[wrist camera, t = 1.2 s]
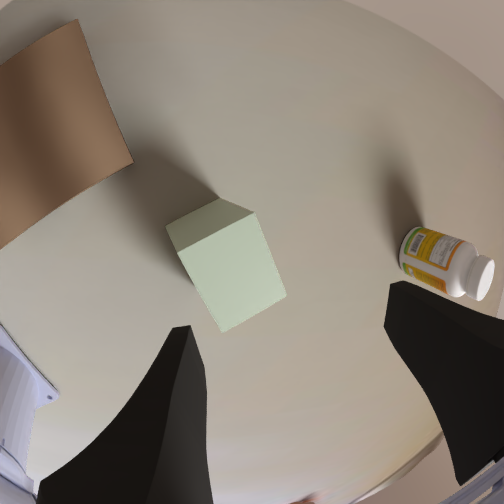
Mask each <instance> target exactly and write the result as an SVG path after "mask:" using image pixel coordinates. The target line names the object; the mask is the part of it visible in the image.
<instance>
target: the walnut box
mask: <svg viewBox="0 0 504 504" xmlns="http://www.w3.org/2000/svg"><path fill="white" fill-rule="evenodd" d="M133 163H134V160H133V158H132V156H131V154H130V152H129V149H128V147H127V145H126V143H125V140H124V138H123V136H122V133H121V131H120V129H119V126H118V124H117V122H116V119H115V117H114V115H113V112H112V110H111V107H110V105H109V102H108V100H107V97H106V95H105V92H104V90H103V87H102V85H101V82H100V79H99V77H98V74H97V72H96V69H95V66H94V63H93V61H92V58H91V55H90V52H89V49H88V47H87V44H86V41H85V38H84V35H83V32H82V30H81V27H80V24H79V21H78V19H76V20H74V21H72V22H70V23H68V24H66V25H64V26H62V27H60V28H58V29H56V30H55V31H53V32H51V33H49V34H48V35H46V36H44V37H42V38H41V39H39V40H37V41H36V42H34V43H33V44H31V45H29V46H28V47H26V48H25V49H23V50H22V51H20V52H19V53H17V54H16V55H15V56H13V57H12V58H10V59H9V60H8V61H6V62H5V63H3V64H2V65H1V66H0V249H2V248H3V247H4V246H6V245H7V244H8V243H10V242H11V241H13V240H14V239H15V238H16V237H18V236H19V235H20V234H22V233H23V232H24V231H26V230H27V229H28V228H30V227H31V226H32V225H34V224H35V223H37V222H38V221H39V220H41V219H42V218H44V217H45V216H47V215H48V214H49V213H51V212H52V211H54V210H55V209H57V208H58V207H60V206H61V205H63V204H64V203H66V202H67V201H69V200H71V199H72V198H74V197H75V196H77V195H79V194H80V193H82V192H83V191H85V190H87V189H88V188H90V187H92V186H93V185H95V184H97V183H98V182H100V181H102V180H104V179H105V178H107V177H109V176H111V175H112V174H114V173H116V172H118V171H120V170H121V169H123V168H125V167H127V166H129V165H131V164H133Z"/></svg>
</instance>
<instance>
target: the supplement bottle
mask: <svg viewBox="0 0 504 504" xmlns="http://www.w3.org/2000/svg"><path fill="white" fill-rule="evenodd" d="M399 262H400V267H401V269H402V271H403V272H404V273H405V274H407V275H409V276H411V277H413V278H415V279H418V280H420V281H422V282H424V283H426V284H428V285H430V286H432V287H434V288H436V289H438V290H440V291H442V292H444V293H446V294H448V295H451V296H453V297H460V296H462V295H463V294H464V293H466V294H467V296H469V297H470V298H473V299H475V300H477V301H480V300H482V299H483V298H484V296H485V295H486V293H487V291H488V289H489V287H490V285H491V282H492V278H493V274H494V261H493V259H491V258H488V257H486V256H484V255H479V256H478V252H477V249H476V247H475V246H474V245H473V244H472V243H469V242H466V241H463V240H460V239H457V238H454V237H451V236H448V235H445V234H442V233H439V232H436V231H433V230H430V229H427V228H423V227H415V228H413V229H412V230H411V231H410V232H409V233H408V234H407V235H406V237H405V238H404V240H403V243H402V245H401V248H400V254H399Z"/></svg>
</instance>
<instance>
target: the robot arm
mask: <svg viewBox="0 0 504 504" xmlns="http://www.w3.org/2000/svg"><path fill="white" fill-rule="evenodd" d="M384 328H385V330H386V333H387V335H388V337H389V339H390V340H391V342H392V344H393V346H394V348H395V349H396V351H397V352H398V354H399V355H400V357H401V358H402V359H403V361H404V362H405V364H406V365H407V367H408V368H409V369H410V371H411V372H412V374H413V375H414V377H415V378H416V380H417V381H418V382H419V384H420V385H421V387H422V388H423V390H424V392H425V393H426V395H427V397H428V399H429V401H430V403H431V405H432V407H433V409H434V411H435V413H436V416H437V418H438V420H439V423H440V425H441V428H442V430H443V433H444V435H445V438H446V441H447V444H448V447H449V450H450V454H451V458H452V462H453V466H454V471H455V477H456V480H457V481H458V483H459V485H460V486H462V485H463V484H465V483H466V482H468V481H469V480H470V479H472V478H473V477H475V476H476V475H477V474H479V473H480V472H481V471H483V470H484V469H485V468H486V467H488V466H489V465H490V464H492V463H493V462H495V463H496V464H495V465H493V466H492V467H491V468H490V469H488V470H487V471H486V472H484V473H483V474H482V475H480V476H479V477H478V478H476V479H475V480H474V481H472V482H471V483H470V484H468V485H467V486H465V487H464V488H462V489H461V490H459V491H458V492H457V493H455V494H453V495H452V496H450V497H449V498H447V499H445V500H444V501H442V502H440V503H439V504H469V503H470V502H472V501H473V500H475V499H476V498H477V497H479V496H480V495H481V494H482V493H484V492H485V491H486V490H488V489H489V488H490V487H491V486H493V487H492V492H491V493H490V494H488V495H487V496H485V497H484V498H482V499H481V500H480V501H478V502H477V503H475V504H504V320H501V319H498V318H495V317H492V316H488V315H485V314H482V313H480V312H477V311H474V310H472V309H469V308H467V307H464V306H462V305H460V304H457V303H455V302H453V301H450V300H448V299H446V298H444V297H442V296H439V295H437V294H435V293H433V292H430V291H428V290H426V289H424V288H422V287H419V286H417V285H414V284H412V283H409V282H406V281H399V282H396V283H392V284H390V290H389V297H388V304H387V310H386V316H385V322H384ZM49 395H50V396H49ZM51 396H52V397H51ZM58 398H59V392H58V391H57V390H56V389H55V388H54V387H53V386H52V385H51V384H50V383H49V382H48V381H47V380H46V379H45V378H44V377H43V376H42V374H41V373H40V372H39V371H38V370H37V369H36V368H35V367H34V366H33V364H32V363H31V362H30V361H29V360H28V359H27V358H26V356H25V355H24V354H23V353H22V352H21V350H20V349H19V348H18V347H17V345H16V344H15V343H14V342H13V340H12V339H11V338H10V336H9V335H8V334H7V332H6V331H5V330H4V328H3V327H2V326H1V325H0V504H213V498H212V492H211V486H210V479H209V472H208V464H207V453H206V416H207V388H206V378H205V368H204V364H203V361H202V359H201V356H200V353H199V350H198V347H197V344H196V341H195V338H194V335H193V331H192V328H191V325H188V326H182V327H175V328H172V330H171V331H170V333H169V335H168V337H167V339H166V341H165V342H164V344H163V346H162V348H161V350H160V351H159V353H158V355H157V357H156V359H155V360H154V362H153V364H152V365H151V367H150V369H149V370H148V372H147V374H146V375H145V377H144V378H143V380H142V381H141V383H140V384H139V386H138V387H137V389H136V390H135V392H134V393H133V395H132V396H131V398H130V399H129V400H128V402H127V403H126V405H125V406H124V407H123V408H122V410H121V411H120V412H119V413H118V415H117V416H116V417H115V418H114V419H113V421H112V422H111V423H110V424H109V425H108V426H107V427H106V428H105V429H104V430H103V431H102V432H101V433H100V434H99V435H98V437H97V438H96V439H95V440H94V441H93V442H92V443H90V444H89V445H88V446H87V447H86V448H85V449H84V450H83V451H82V452H80V453H79V454H78V455H77V456H76V457H74V458H73V459H72V460H71V461H69V462H68V463H67V464H65V465H64V466H63V467H61V468H60V469H58V470H57V471H55V472H54V473H52V474H51V475H49V476H48V477H46V478H45V479H43V480H41V482H40V485H39V490H38V495H36V494H35V493H33V487H34V481H33V480H32V479H31V478H29V477H28V476H27V475H26V474H25V473H26V464H27V456H28V449H29V443H30V436H31V431H32V425H33V420H34V415H35V411H36V409H37V408H39V407H42V406H44V405H46V404H48V403H50V402H53V401H55V400H57V399H58Z"/></svg>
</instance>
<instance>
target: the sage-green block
mask: <svg viewBox="0 0 504 504" xmlns="http://www.w3.org/2000/svg"><path fill="white" fill-rule="evenodd" d="M165 227H166V230H167V232H168V234H169V236H170V239H171V241H172V243H173V245H174V247H175V250H176V252H177V254H178V256H179V258H180V259H181V261H182V263H183V265H184V267H185V269H186V271H187V272H188V274H189V276H190V278H191V280H192V282H193V283H194V285H195V287H196V289H197V290H198V292H199V294H200V296H201V298H202V299H203V301H204V303H205V305H206V306H207V308H208V310H209V312H210V313H211V315H212V317H213V318H214V320H215V322H216V323H217V325H218V327H219V329H220V330H221V332H222V333H224V332H226V331H227V330H229V329H231V328H233V327H235V326H236V325H238V324H240V323H242V322H243V321H245V320H247V319H249V318H250V317H252V316H254V315H256V314H257V313H259V312H261V311H262V310H264V309H266V308H267V307H269V306H271V305H273V304H274V303H276V302H278V301H279V300H281V299H283V298H284V297H286V296H287V294H286V291H285V289H284V286H283V283H282V281H281V278H280V276H279V273H278V271H277V268H276V265H275V263H274V260H273V258H272V255H271V253H270V250H269V248H268V245H267V243H266V240H265V237H264V235H263V232H262V230H261V227H260V225H259V222H258V220H257V217H256V215H255V212H252V211H250V210H248V209H245V208H243V207H241V206H238V205H236V204H234V203H231V202H229V201H226V200H224V199H222V198H219V199H217V200H215V201H212V202H210V203H208V204H206V205H204V206H202V207H201V208H199V209H197V210H195V211H193V212H191V213H189V214H187V215H185V216H183V217H181V218H179V219H177V220H175V221H173V222H171V223H170V224H168V225H166V226H165Z"/></svg>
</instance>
